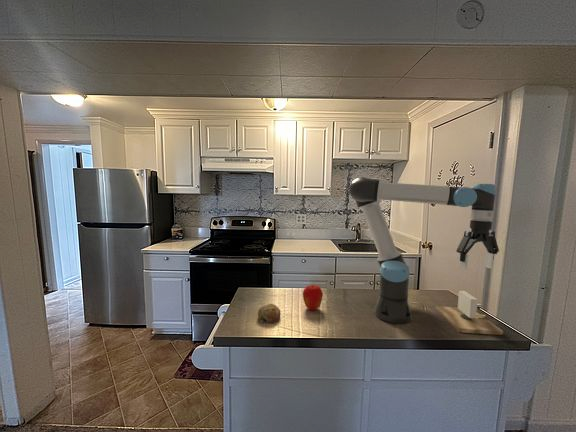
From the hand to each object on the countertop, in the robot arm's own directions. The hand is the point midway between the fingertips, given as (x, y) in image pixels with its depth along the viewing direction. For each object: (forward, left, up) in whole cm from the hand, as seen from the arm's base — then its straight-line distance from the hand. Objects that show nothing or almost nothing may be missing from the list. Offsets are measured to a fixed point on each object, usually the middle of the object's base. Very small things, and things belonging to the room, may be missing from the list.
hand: (476, 268), depth 112 cm
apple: (-71, -2, -22) cm, 74 cm away
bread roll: (-89, -13, -22) cm, 93 cm away
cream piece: (-2, -5, -20) cm, 21 cm away
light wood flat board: (-5, -5, -22) cm, 23 cm away
